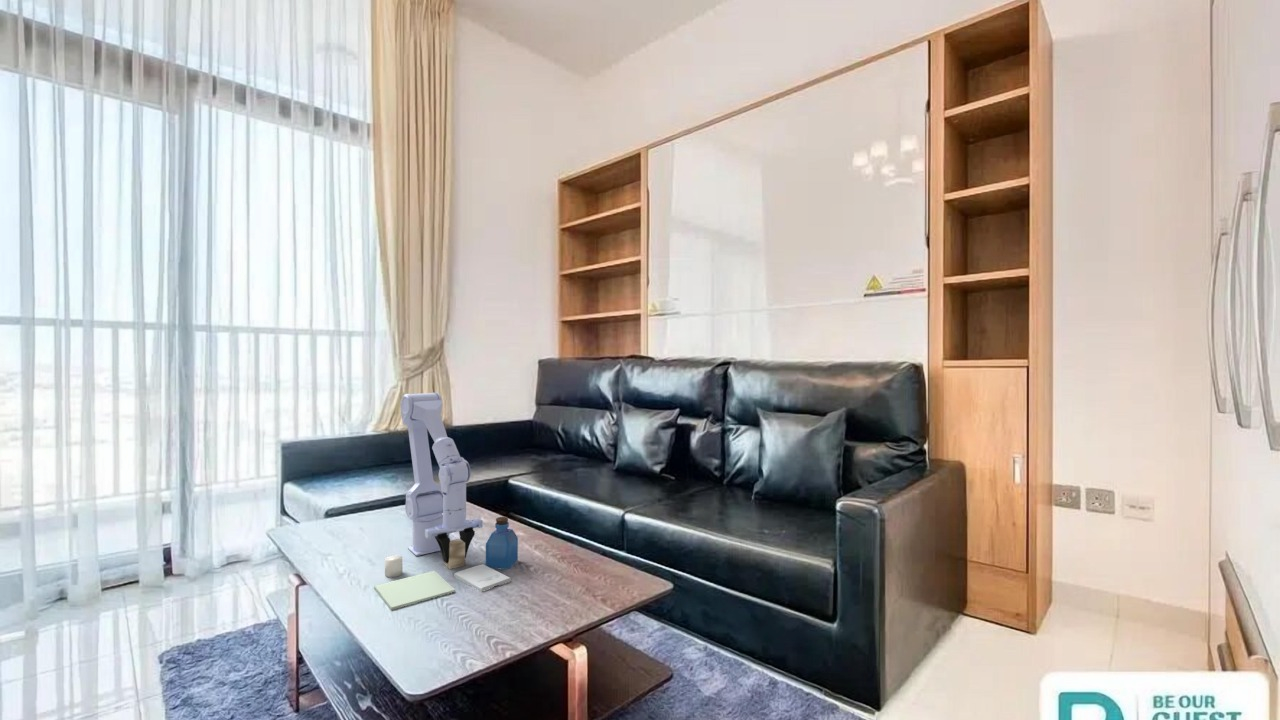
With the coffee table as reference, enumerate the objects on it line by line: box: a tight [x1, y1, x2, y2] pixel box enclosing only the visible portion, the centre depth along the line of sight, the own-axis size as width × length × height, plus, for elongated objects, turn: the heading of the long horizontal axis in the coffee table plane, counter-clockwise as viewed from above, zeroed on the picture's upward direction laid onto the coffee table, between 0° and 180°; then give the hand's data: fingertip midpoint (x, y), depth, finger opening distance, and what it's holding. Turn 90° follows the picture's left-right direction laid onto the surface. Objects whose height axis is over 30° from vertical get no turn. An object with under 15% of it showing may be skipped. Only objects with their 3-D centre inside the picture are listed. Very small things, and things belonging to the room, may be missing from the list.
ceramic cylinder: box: [384, 554, 403, 578], centre depth 137 cm, size 4×4×4 cm
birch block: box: [443, 538, 466, 570], centre depth 143 cm, size 4×4×6 cm
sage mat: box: [373, 570, 456, 611], centre depth 128 cm, size 14×14×1 cm
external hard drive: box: [453, 563, 512, 593], centre depth 135 cm, size 2×8×12 cm
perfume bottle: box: [485, 516, 519, 570], centre depth 144 cm, size 6×6×12 cm
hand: (454, 559), depth 143 cm, fingers closed on birch block, 4 cm apart
